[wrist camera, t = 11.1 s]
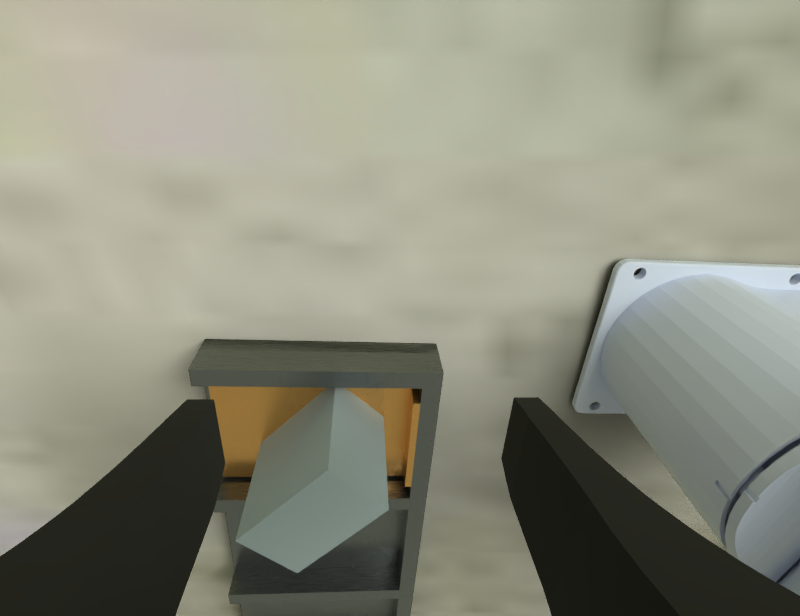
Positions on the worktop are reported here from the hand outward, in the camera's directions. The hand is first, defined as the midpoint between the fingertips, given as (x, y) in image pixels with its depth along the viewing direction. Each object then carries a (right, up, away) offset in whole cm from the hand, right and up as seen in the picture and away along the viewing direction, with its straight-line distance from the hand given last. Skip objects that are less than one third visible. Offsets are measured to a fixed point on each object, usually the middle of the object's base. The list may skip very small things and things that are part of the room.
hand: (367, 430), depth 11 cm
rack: (-3, -9, +14) cm, 17 cm away
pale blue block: (-3, -3, +10) cm, 11 cm away
